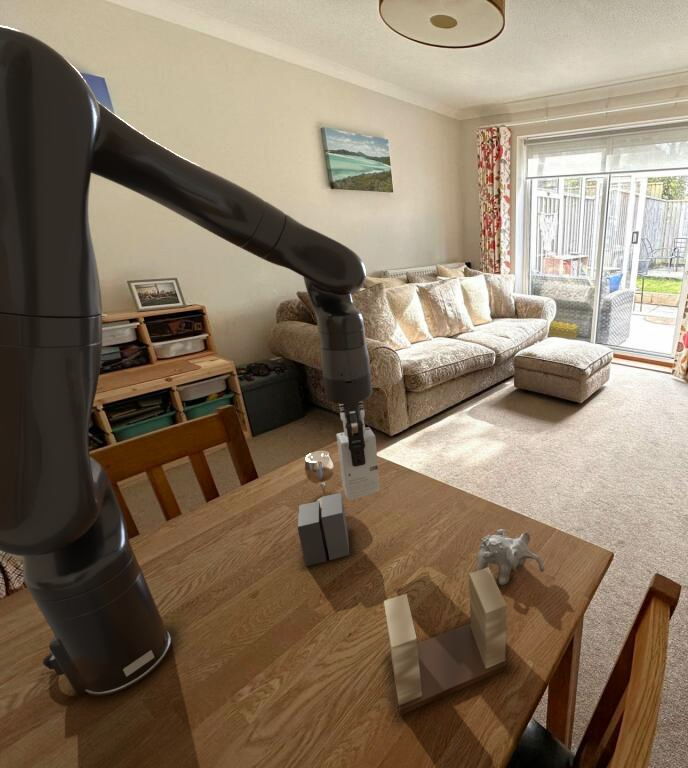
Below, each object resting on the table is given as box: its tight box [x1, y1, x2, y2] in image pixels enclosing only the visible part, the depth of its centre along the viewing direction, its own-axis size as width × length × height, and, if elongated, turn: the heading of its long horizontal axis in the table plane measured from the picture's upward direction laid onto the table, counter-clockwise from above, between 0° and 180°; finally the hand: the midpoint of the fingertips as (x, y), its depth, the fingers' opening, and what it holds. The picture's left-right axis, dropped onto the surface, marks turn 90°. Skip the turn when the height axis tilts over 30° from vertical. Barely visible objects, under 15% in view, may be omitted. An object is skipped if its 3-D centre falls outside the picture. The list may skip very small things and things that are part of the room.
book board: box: [383, 567, 508, 716], centre depth 56 cm, size 15×8×12 cm, turn 114°
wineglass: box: [304, 450, 335, 509], centre depth 89 cm, size 6×6×12 cm
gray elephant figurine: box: [476, 528, 545, 586], centre depth 73 cm, size 9×12×8 cm
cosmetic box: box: [335, 426, 381, 502], centre depth 75 cm, size 6×4×12 cm
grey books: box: [296, 492, 350, 567], centre depth 76 cm, size 8×6×10 cm
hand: (357, 457), depth 74 cm, fingers closed on cosmetic box, 4 cm apart
